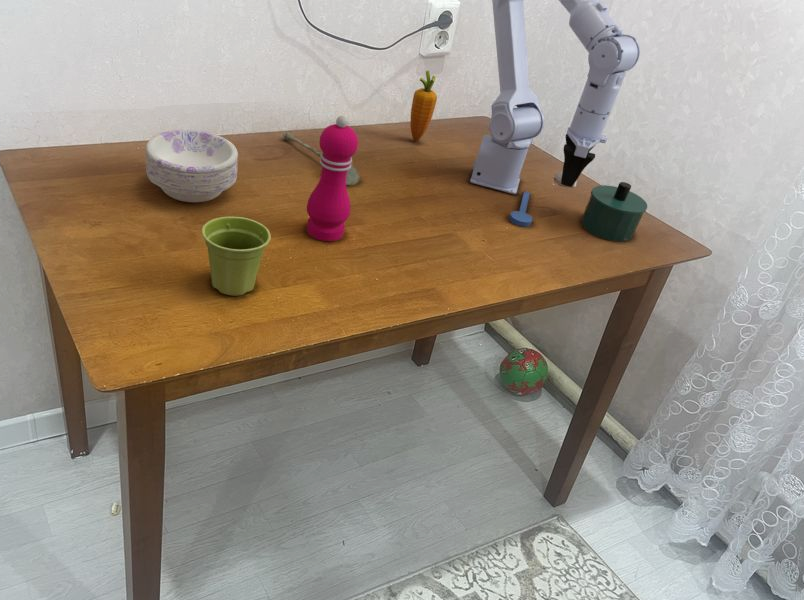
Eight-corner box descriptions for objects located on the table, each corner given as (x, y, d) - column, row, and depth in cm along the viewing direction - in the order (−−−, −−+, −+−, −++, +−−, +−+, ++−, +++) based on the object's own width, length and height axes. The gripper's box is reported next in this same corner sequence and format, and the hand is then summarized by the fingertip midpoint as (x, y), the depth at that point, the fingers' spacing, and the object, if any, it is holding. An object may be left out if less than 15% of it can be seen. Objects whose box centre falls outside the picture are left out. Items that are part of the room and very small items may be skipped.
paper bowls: (157, 214, 116) (157, 169, 111) (138, 172, 126) (137, 129, 121) (247, 208, 122) (250, 165, 117) (221, 168, 132) (223, 127, 127)
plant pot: (202, 264, 107) (204, 212, 101) (265, 269, 108) (270, 219, 103) (197, 300, 99) (199, 246, 94) (265, 305, 101) (270, 253, 95)
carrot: (425, 148, 155) (441, 78, 145) (402, 143, 155) (417, 73, 146) (427, 140, 159) (443, 72, 149) (405, 135, 159) (420, 66, 150)
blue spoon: (507, 222, 133) (509, 218, 132) (515, 192, 144) (517, 187, 143) (529, 228, 132) (531, 224, 131) (536, 197, 143) (537, 193, 143)
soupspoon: (338, 191, 134) (364, 187, 138) (341, 175, 132) (368, 171, 135) (273, 140, 145) (299, 137, 149) (275, 124, 143) (301, 122, 147)
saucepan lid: (589, 207, 131) (597, 188, 128) (590, 185, 139) (597, 167, 136) (646, 222, 129) (655, 203, 127) (644, 199, 137) (652, 181, 135)
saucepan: (580, 232, 134) (592, 204, 130) (582, 210, 142) (593, 183, 138) (632, 246, 133) (645, 218, 129) (631, 224, 140) (643, 197, 137)
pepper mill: (351, 229, 122) (372, 115, 109) (337, 247, 116) (357, 129, 104) (312, 217, 123) (328, 103, 111) (297, 235, 118) (312, 117, 105)
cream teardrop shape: (566, 180, 136) (571, 168, 135) (581, 193, 133) (586, 180, 131) (548, 181, 135) (552, 168, 133) (562, 193, 131) (567, 181, 130)
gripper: (617, 127, 119) (587, 201, 127) (616, 102, 130) (589, 171, 138) (575, 117, 120) (548, 190, 128) (578, 92, 131) (553, 161, 139)
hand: (567, 179), depth 133 cm, fingers closed on cream teardrop shape, 4 cm apart
